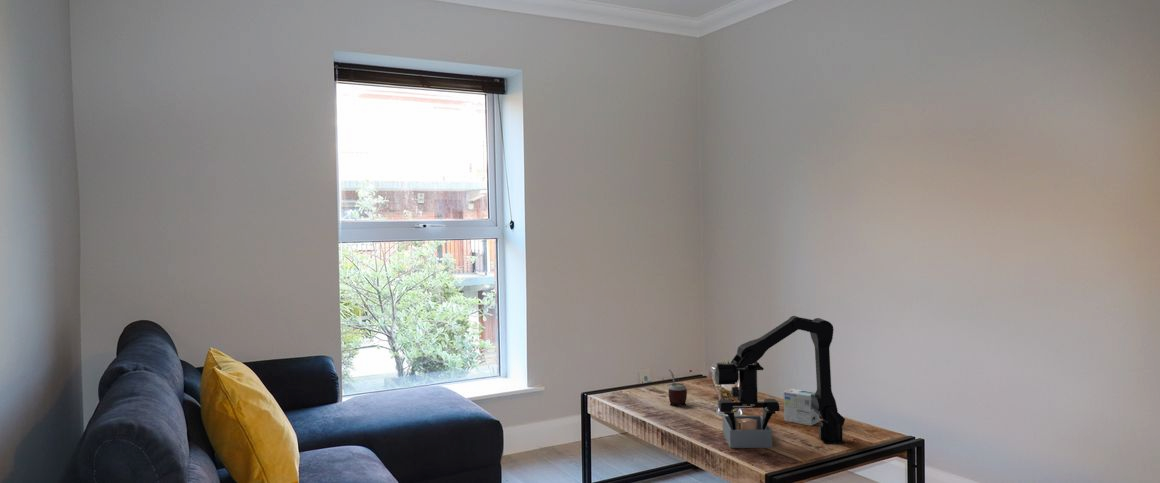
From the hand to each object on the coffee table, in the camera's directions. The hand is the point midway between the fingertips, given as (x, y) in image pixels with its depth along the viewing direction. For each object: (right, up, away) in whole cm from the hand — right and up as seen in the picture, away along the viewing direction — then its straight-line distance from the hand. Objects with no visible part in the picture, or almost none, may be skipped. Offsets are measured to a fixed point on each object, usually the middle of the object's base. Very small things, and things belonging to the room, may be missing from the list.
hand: (748, 431), depth 246 cm
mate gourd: (-17, -3, +51) cm, 53 cm away
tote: (0, -4, +5) cm, 6 cm away
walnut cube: (0, -3, +7) cm, 8 cm away
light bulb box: (+24, -3, +25) cm, 35 cm away
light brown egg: (0, -3, 0) cm, 3 cm away
